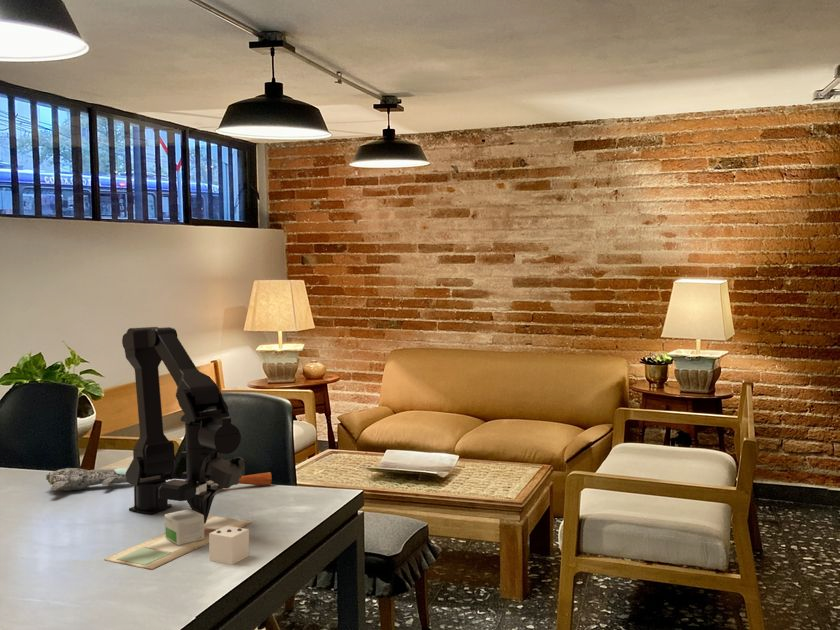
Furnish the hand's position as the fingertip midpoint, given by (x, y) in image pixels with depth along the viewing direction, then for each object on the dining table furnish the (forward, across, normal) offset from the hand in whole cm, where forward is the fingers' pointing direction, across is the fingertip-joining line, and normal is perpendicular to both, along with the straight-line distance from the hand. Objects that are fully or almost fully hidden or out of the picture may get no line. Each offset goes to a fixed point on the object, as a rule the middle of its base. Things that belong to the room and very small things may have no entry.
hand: (202, 523), depth 163 cm
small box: (+2, -6, 0) cm, 6 cm away
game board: (+2, -5, 0) cm, 6 cm away
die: (+2, -10, -14) cm, 17 cm away
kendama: (+2, +28, +15) cm, 32 cm away
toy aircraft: (+2, +15, +44) cm, 47 cm away
